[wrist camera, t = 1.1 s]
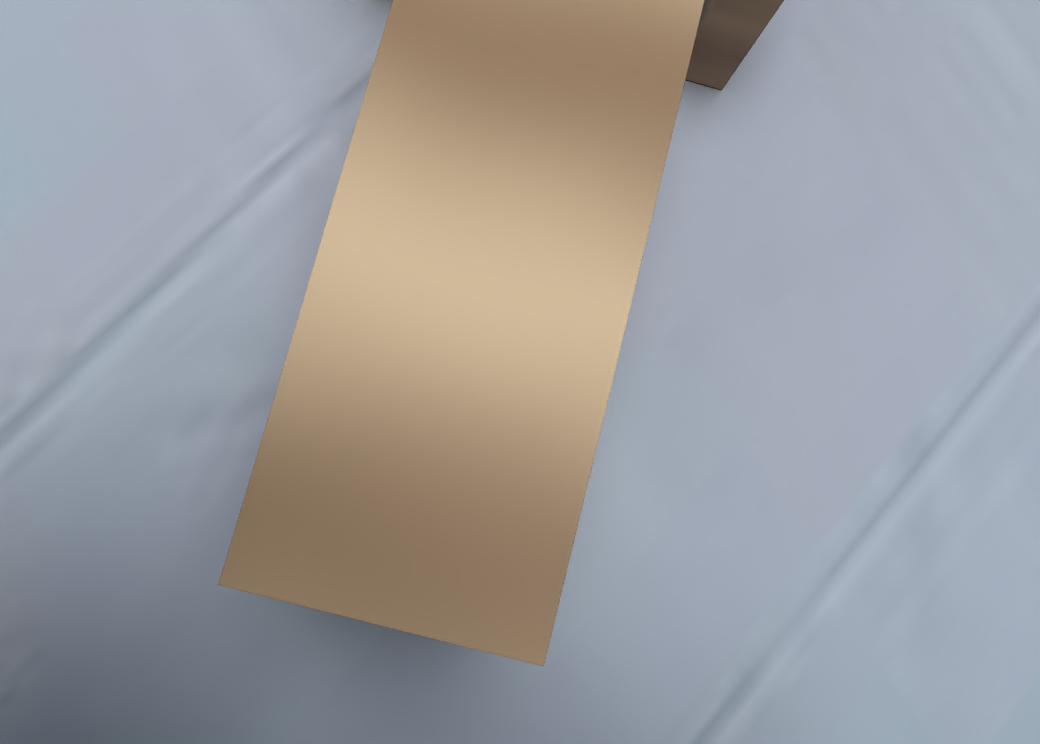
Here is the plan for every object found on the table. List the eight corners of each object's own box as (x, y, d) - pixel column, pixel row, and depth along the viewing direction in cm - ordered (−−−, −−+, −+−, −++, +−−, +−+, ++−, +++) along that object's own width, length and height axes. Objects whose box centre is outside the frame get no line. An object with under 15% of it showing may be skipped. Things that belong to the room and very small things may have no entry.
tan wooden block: (490, 598, 22) (544, 666, 12) (313, 553, 22) (217, 584, 12) (616, 102, 24) (750, -192, 14) (454, 56, 24) (475, -276, 14)
